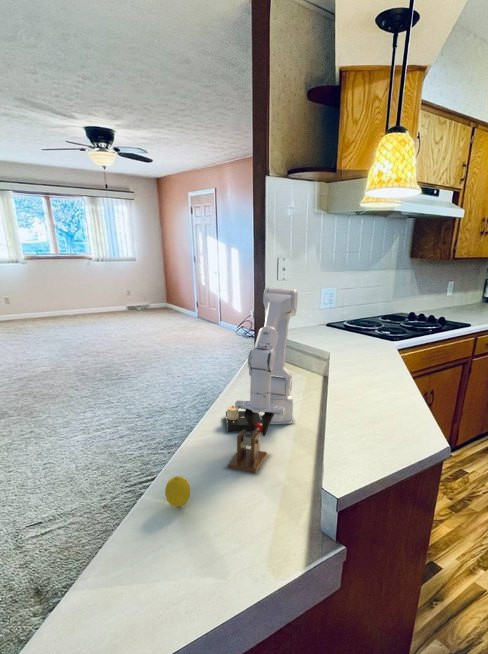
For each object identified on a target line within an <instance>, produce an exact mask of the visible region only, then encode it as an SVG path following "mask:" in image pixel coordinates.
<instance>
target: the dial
mask: <svg viewBox="0 0 488 654" xmlns="http://www.w3.org/2000/svg"><path fill="white" fill-rule="evenodd" d="M226 410H227V418H228V419H229V420H237V419H238V411H239V409H235V405H234V404H231V405H230V406H227V408H226Z"/></svg>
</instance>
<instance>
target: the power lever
mask: <svg viewBox="0 0 488 654" xmlns="http://www.w3.org/2000/svg"><path fill="white" fill-rule="evenodd" d="M262 431H263V423H262V424H261V423H257V424H256V425H255V427H254V431H253V432H252V433H251V432H250V433H247V432H246V435H245V436H244V437H243V445H246V447H251V438H252V437H253V436H254V434H255V433H256V432H260V434H262Z"/></svg>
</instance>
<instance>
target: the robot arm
mask: <svg viewBox="0 0 488 654" xmlns="http://www.w3.org/2000/svg"><path fill="white" fill-rule="evenodd" d="M298 294H299V293H298V291H297V289H296V288H293V289H292V288H283V287H282V288H281V287H271V286H266V288H264V291H263V296H262V301H263V303H262V304H263V306H264V309H265V310H266V315H265V319H264V326H262V327H261V328H260V329H259V330H258V332H257V336H256V340H255V344H254V346H253V349H251V350H250V351H249V353H248V357H247V368H248V375H249V376H250V383H249V384H250V385H249V387H250V388H249V400H236V401H235V402H234V406H235V409H238V410H240V409H241V410H244V411H245V413H244V416H245V418H246V419H247V421H248V424H249V427H250V430H251V431H250V434H251V433H252V432H253V431H254V427H255V425H256V416H257V413H259V414H260V413H261V422H262V424H263V431H262V433H261V434H262V435H261V437H266V436H267V435H268V429H269V427H270V425H288V424H290V425H291V424H293V410H294V400H293V396H292V395H291V393H292V387H293V380H292V379H293V375H292V373H291V372H290V370H288V369H287V368H286V367H285V364H286V355H287V342H288V333H289V324H290V320H291V318H292V317H296V313H297V311H298V310H297V308H298V299H299V296H298Z"/></svg>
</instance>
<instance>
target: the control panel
mask: <svg viewBox="0 0 488 654" xmlns="http://www.w3.org/2000/svg"><path fill="white" fill-rule="evenodd" d="M244 413H245V410H238V419H237V420H229V419H228V418H227V411H225V417H220V419H221V420H222V419H224V420H225V422H226V429H227V433H240V432H241V431H242V430H243V429H246V432H251V430H250V427H249V424H248V421H247V419H246V418H245V416H244ZM257 423H261V424H263V421H262V418H261V416H260V412H259V413H257V416H256V424H257Z"/></svg>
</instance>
